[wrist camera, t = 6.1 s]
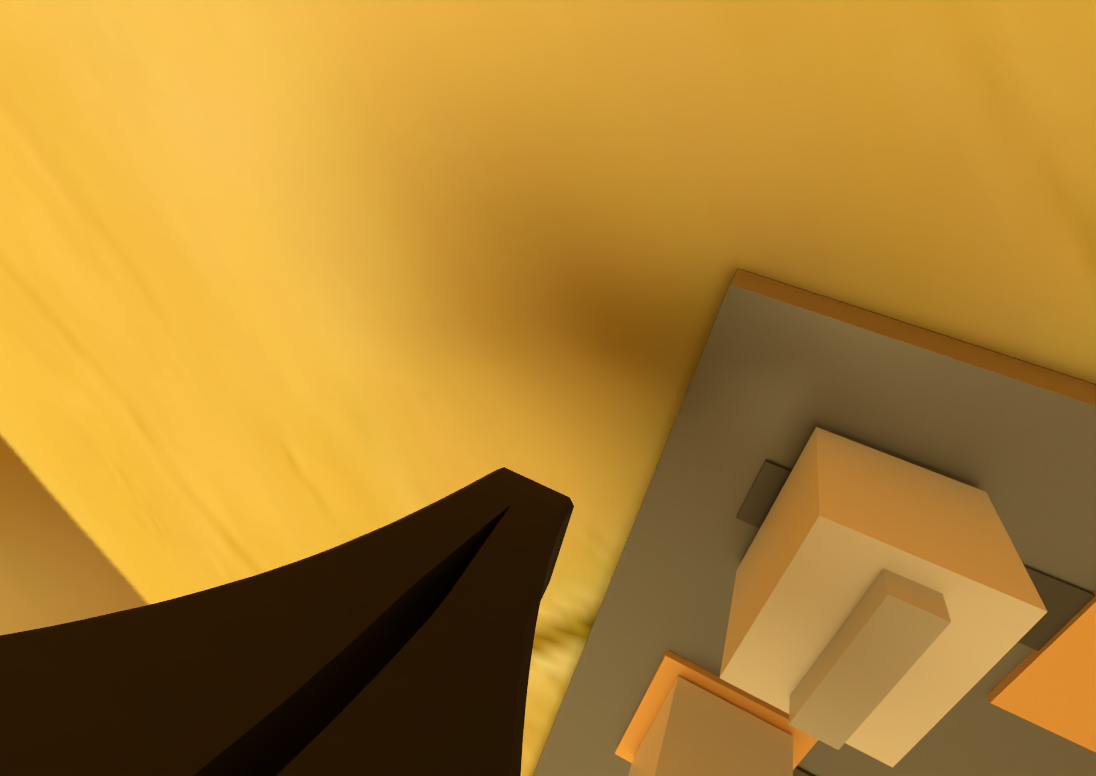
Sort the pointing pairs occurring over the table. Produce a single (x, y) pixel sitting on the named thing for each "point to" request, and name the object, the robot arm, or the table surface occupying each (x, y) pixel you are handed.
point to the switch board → (755, 482)
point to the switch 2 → (874, 598)
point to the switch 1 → (710, 739)
